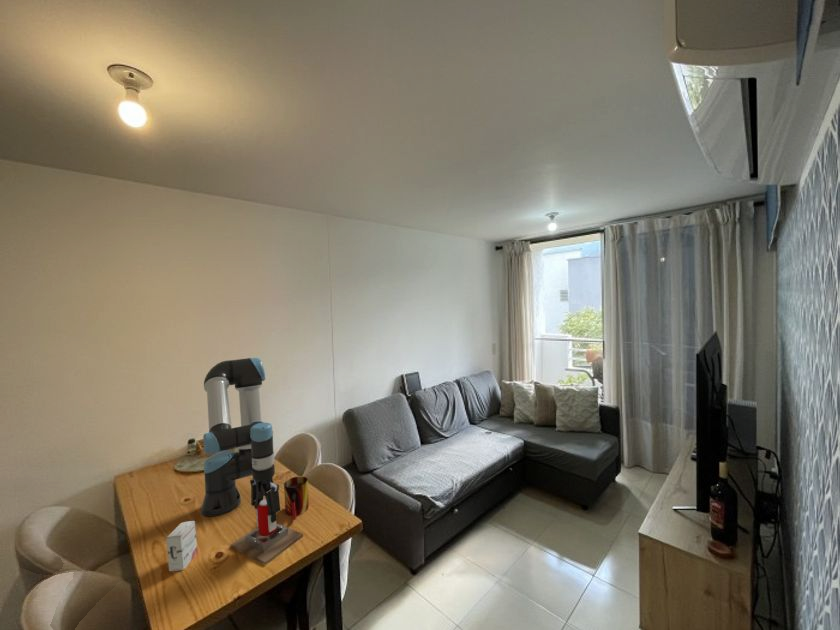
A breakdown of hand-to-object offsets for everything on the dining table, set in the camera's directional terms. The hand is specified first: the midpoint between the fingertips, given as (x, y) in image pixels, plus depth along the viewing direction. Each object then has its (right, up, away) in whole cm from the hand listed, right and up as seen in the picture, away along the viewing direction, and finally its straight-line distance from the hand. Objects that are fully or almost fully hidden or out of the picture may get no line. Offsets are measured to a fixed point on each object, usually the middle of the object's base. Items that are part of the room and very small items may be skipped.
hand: (266, 527), depth 125 cm
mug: (+5, -5, +19) cm, 20 cm away
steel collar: (0, -5, 0) cm, 5 cm away
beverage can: (0, -3, 0) cm, 3 cm away
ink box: (-25, -7, -8) cm, 28 cm away
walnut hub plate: (0, -5, 0) cm, 5 cm away
